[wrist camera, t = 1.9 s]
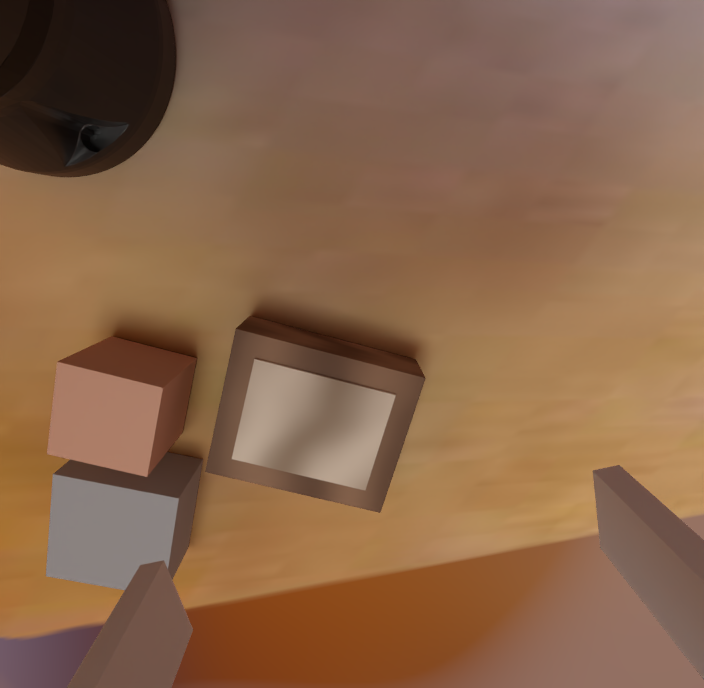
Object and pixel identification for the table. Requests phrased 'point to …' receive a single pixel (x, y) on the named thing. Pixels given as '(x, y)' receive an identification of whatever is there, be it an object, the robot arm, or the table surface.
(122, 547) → the slate block
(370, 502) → the plinth
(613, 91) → the table surface
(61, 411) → the terracotta cube
